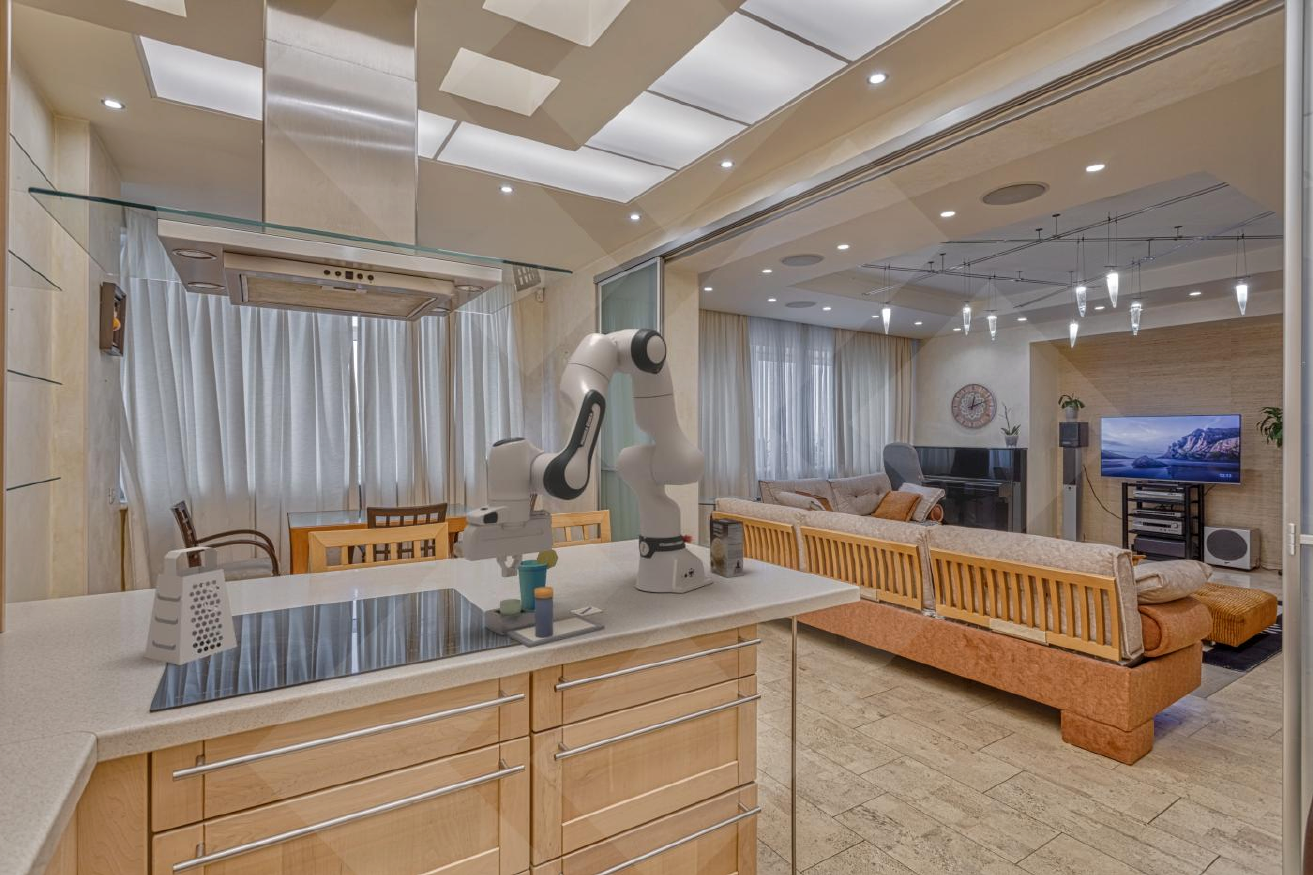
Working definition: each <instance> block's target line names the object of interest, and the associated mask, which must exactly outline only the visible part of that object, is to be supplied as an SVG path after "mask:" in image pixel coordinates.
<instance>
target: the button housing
mask: <svg viewBox="0 0 1313 875" xmlns="http://www.w3.org/2000/svg"><path fill="white" fill-rule="evenodd" d="M484 626H485V628H486V629H488V630H490V631H492V632H493V633H495V634H497V635H499V634H500V635H499V636H501V635H504V636H507V635H506V632H509V631H513V630H518V629H522V628H527V627H531V626H535V610H533V609H528V608H526V607H523V606H522V605H521V613H519V614H514V615H509V616H503V615H501V614H500V607H498V608H493V609H489V610H485V611H484Z"/></svg>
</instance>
